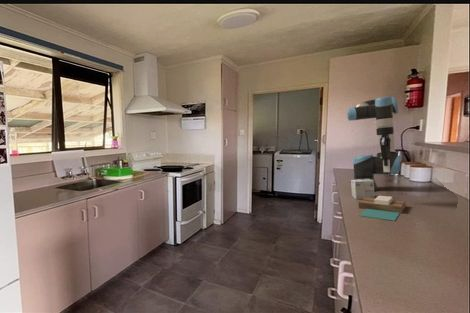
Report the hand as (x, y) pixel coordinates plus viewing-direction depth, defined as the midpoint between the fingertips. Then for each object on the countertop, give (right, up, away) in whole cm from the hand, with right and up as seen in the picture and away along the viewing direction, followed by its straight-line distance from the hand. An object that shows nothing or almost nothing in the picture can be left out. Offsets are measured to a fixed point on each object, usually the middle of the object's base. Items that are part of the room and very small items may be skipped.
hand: (386, 171), depth 122 cm
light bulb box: (-4, -17, +16) cm, 23 cm away
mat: (-13, -19, -15) cm, 27 cm away
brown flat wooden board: (-6, -18, -5) cm, 19 cm away
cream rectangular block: (-6, -15, -6) cm, 17 cm away
